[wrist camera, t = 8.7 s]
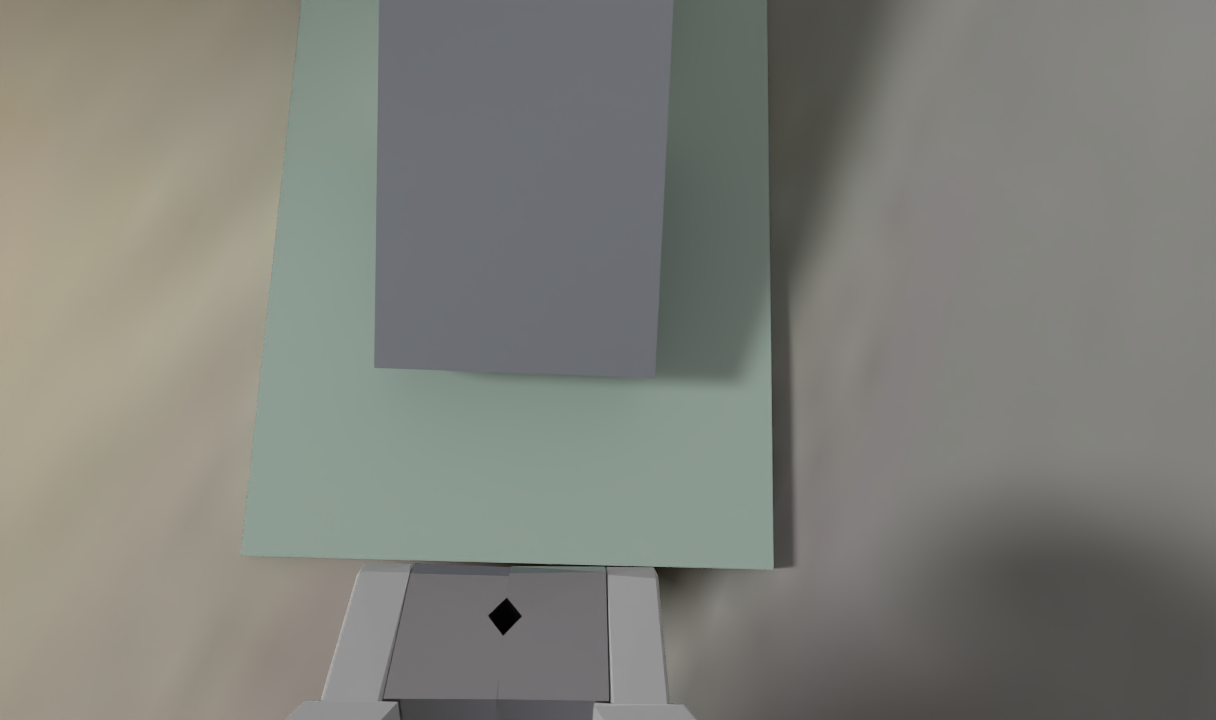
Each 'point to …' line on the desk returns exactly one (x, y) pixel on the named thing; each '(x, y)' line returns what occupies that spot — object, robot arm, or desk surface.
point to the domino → (521, 185)
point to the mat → (519, 402)
